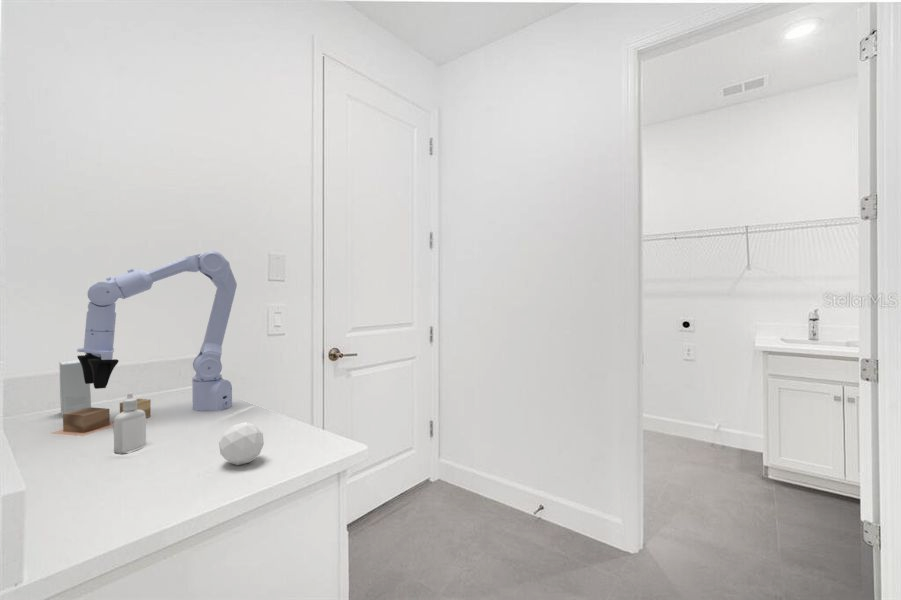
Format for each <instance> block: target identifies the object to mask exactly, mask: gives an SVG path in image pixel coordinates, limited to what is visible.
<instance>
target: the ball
mask: <svg viewBox="0 0 901 600" xmlns="http://www.w3.org/2000/svg"><path fill="white" fill-rule="evenodd" d="M263 434H264V433H263V432H262V431H261V429H259V427H258V426H257V425H256V424H253V423H249V422H246V421H244V422H241V423H237V424H234V425H231V426H230V427H229V428H228V429H227V430H225V431H223V434H222V436H221V438H220V440H219V442H218V445H219V453H220V455H221V456H222V458H223V459H224V460H225V461H227V463H230V464H233V465H236V466H240V465H241V466H242V465H245V464H248V463H250V462H252V461H253V460H254V459H256V458H257V457H258V456H260V455H261V452H262V449H263V447H264V444H265V442H264V435H263Z"/></svg>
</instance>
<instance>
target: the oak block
mask: <svg viewBox="0 0 901 600" xmlns="http://www.w3.org/2000/svg"><path fill="white" fill-rule="evenodd" d="M136 399H137V409H139V410H143V411H144V412H145V414H146V419H148V418H150V417H151V416H152V415H151V411H152V410H151V409H152V408H151V403H152V402H151V399H147V398H136ZM123 411H124V410H123V401H122V402H119V414H120V413H121V412H123Z"/></svg>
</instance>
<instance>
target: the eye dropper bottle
mask: <svg viewBox="0 0 901 600" xmlns="http://www.w3.org/2000/svg"><path fill="white" fill-rule="evenodd" d="M137 399H138V398H137V397H136V398H135V397H134V396H133V393H132V392H128V393H127V397H126V398H125V399H123V400H122V402H123V410H124V411H123V412H121V413H120V412H119V413H118V414H117V415H116V416H114V419H113V423H114V426H113V453H114V454H115V455H121V456H122V455H124V456H125V455H127V454H129V452H126V451H130V450H134V449H135V450H134V451H131V452H130V454H131V453H135V452H139V451H140V450H142V449H143V447H142V446H144V445H146V444H147V420H146V419H147V418H146V414H145V412H144V411H143V410H139V409H137ZM140 447H141V448H140ZM137 448H139V449H137Z"/></svg>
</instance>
